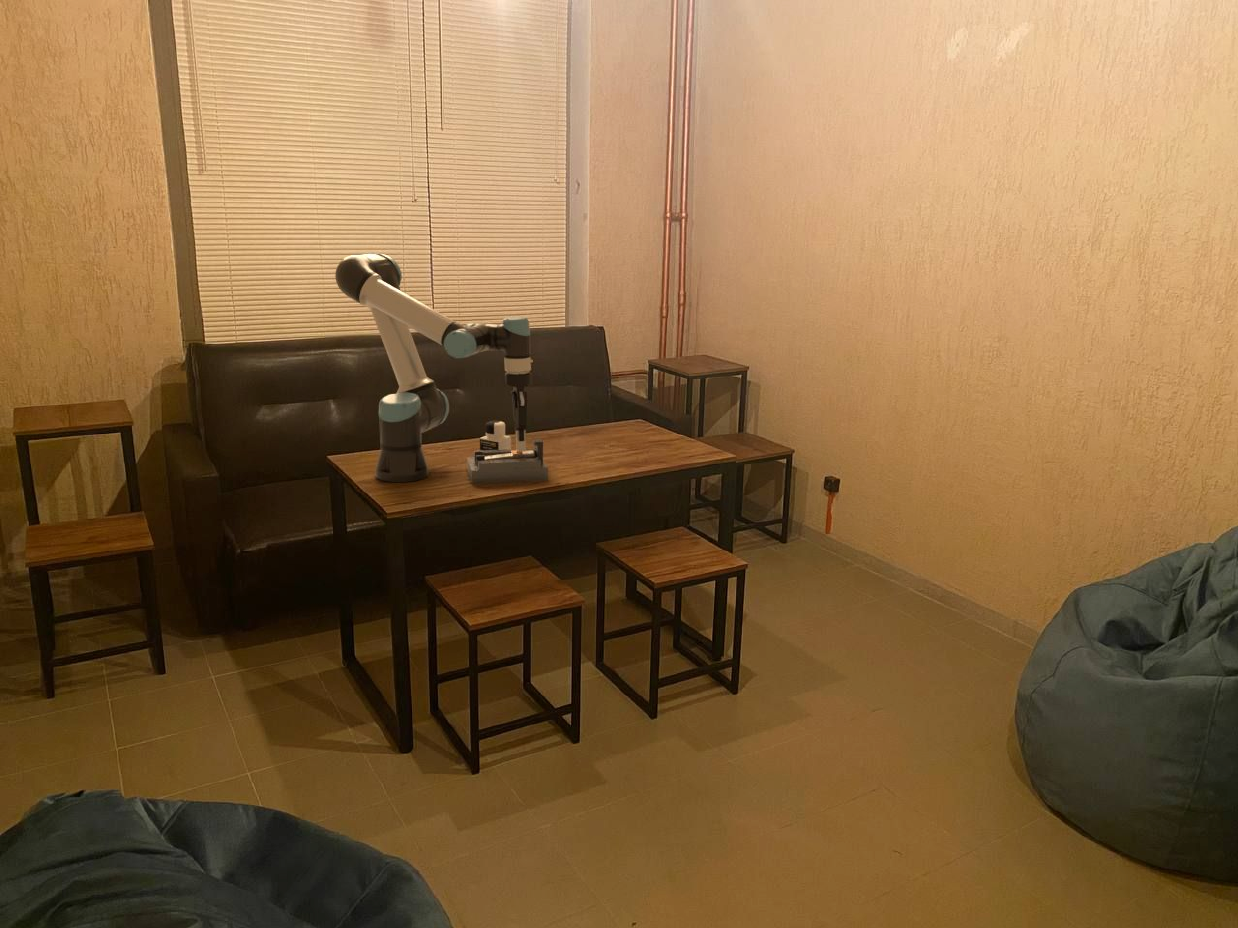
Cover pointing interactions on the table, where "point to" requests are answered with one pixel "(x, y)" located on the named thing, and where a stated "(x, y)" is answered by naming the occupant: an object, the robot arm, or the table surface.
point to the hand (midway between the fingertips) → (521, 450)
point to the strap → (510, 455)
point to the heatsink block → (507, 466)
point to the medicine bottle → (495, 437)
